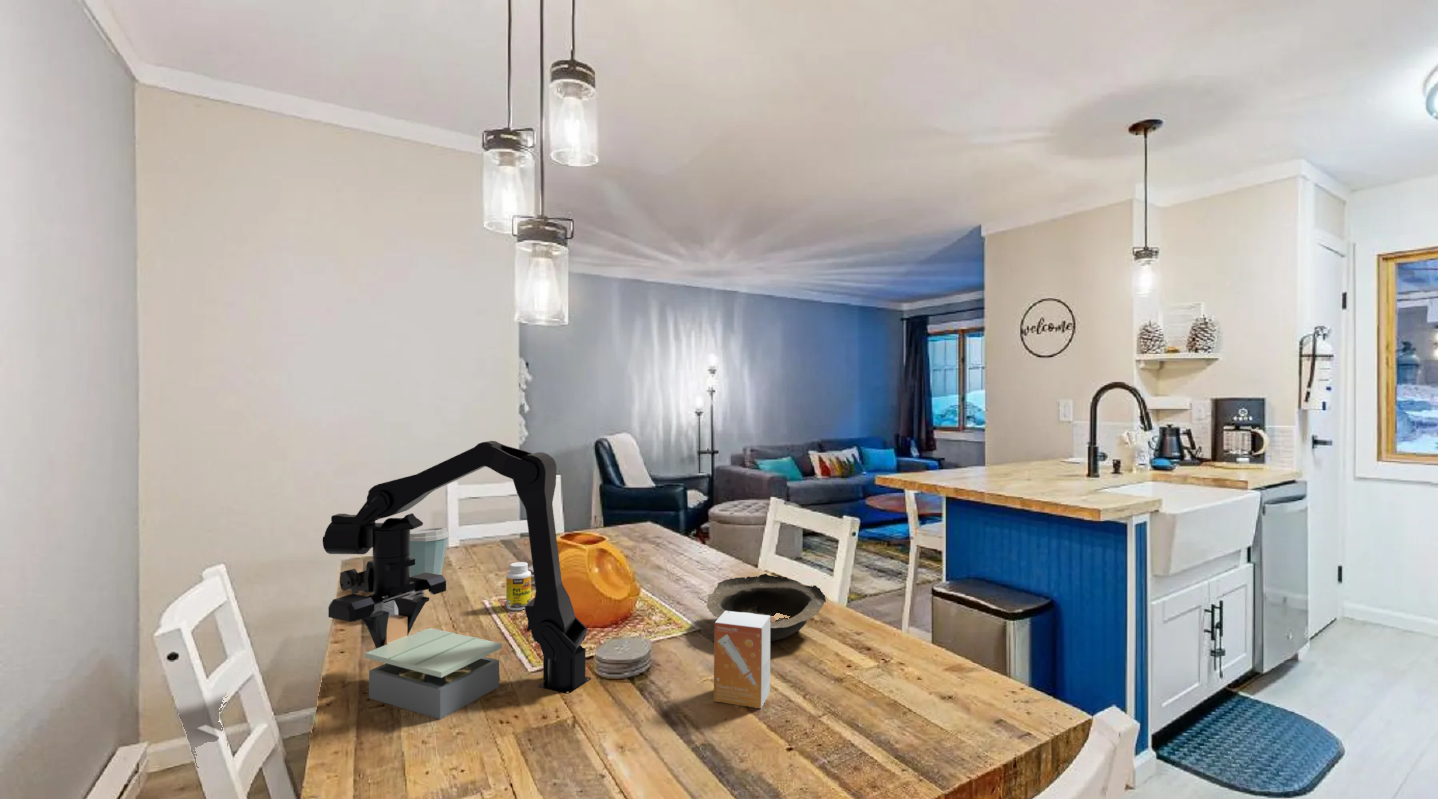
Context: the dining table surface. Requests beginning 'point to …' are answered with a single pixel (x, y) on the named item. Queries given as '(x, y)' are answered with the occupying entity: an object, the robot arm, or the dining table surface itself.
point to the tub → (433, 688)
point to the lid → (429, 649)
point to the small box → (742, 658)
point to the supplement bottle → (518, 586)
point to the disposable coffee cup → (428, 550)
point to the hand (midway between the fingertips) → (391, 645)
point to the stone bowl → (768, 601)
